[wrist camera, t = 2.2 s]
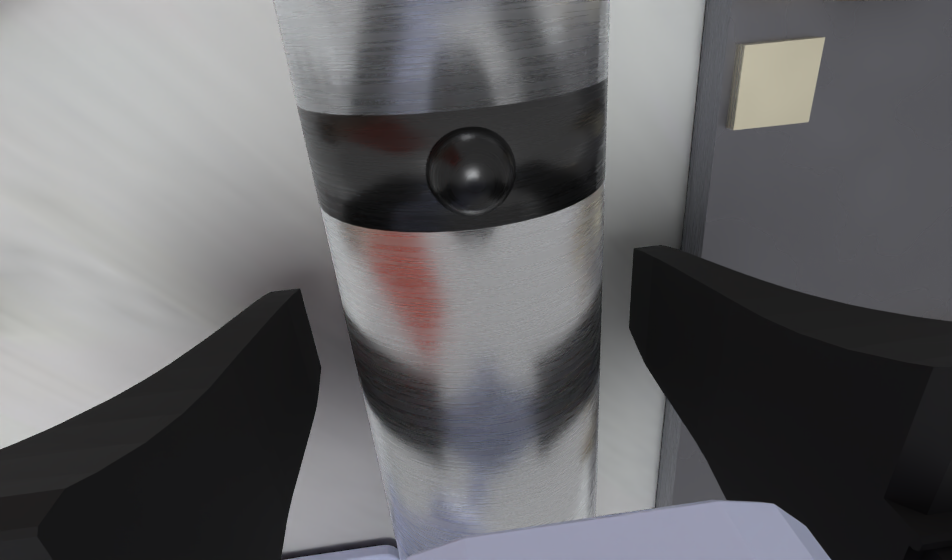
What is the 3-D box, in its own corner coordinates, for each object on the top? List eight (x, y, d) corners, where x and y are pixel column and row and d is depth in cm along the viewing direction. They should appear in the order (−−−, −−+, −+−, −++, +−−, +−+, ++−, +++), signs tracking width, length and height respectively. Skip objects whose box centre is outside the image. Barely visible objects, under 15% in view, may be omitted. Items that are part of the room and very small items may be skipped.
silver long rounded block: (566, 531, 18) (624, 726, 13) (417, 554, 18) (420, 761, 13) (560, -284, 9) (742, -635, 4) (251, -264, 9) (44, -616, 4)
